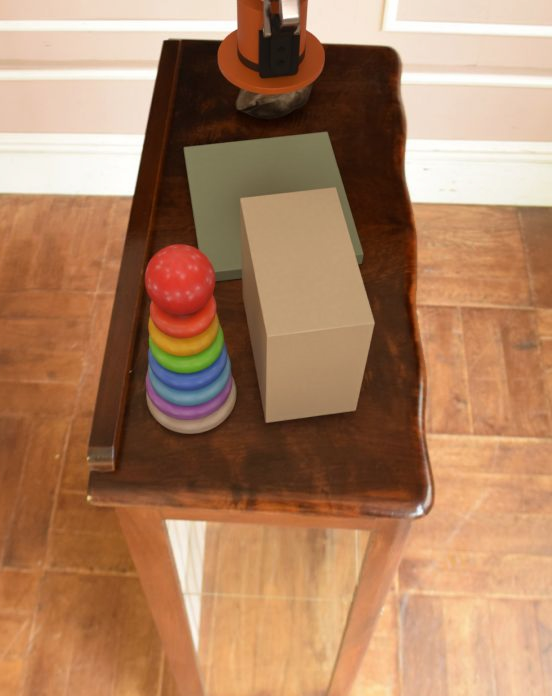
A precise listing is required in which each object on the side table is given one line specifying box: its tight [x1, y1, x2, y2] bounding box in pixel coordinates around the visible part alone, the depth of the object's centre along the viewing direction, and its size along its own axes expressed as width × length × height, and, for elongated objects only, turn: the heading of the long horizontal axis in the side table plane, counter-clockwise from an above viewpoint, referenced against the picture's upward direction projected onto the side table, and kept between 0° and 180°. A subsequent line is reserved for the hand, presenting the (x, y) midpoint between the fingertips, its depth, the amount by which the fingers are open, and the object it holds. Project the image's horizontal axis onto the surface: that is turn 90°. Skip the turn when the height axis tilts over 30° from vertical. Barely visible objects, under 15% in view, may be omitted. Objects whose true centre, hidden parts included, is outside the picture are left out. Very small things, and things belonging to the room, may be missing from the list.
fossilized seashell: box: [234, 75, 320, 120], centre depth 88 cm, size 8×7×10 cm
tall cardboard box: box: [240, 187, 376, 424], centre depth 66 cm, size 8×14×14 cm, turn 9°
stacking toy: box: [144, 243, 238, 435], centre depth 62 cm, size 8×8×19 cm
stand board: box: [183, 131, 364, 282], centre depth 81 cm, size 16×18×2 cm
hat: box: [217, 0, 326, 95], centre depth 63 cm, size 9×9×6 cm
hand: (271, 48), depth 65 cm, fingers closed on hat, 5 cm apart
